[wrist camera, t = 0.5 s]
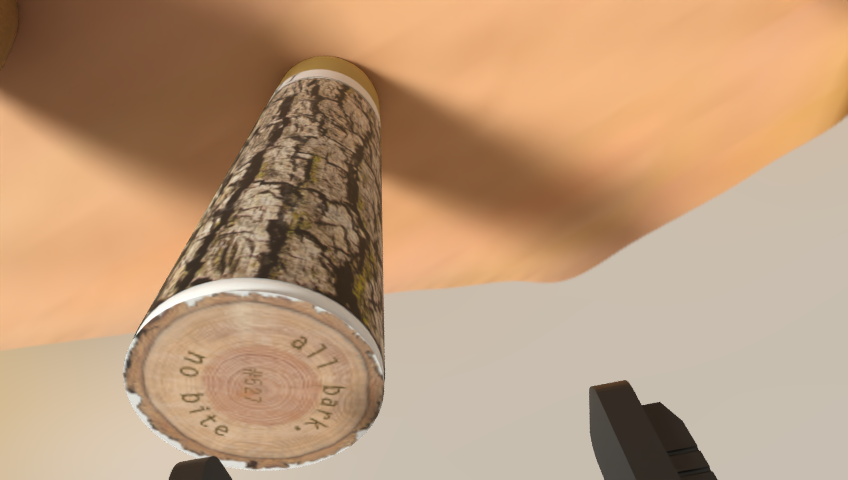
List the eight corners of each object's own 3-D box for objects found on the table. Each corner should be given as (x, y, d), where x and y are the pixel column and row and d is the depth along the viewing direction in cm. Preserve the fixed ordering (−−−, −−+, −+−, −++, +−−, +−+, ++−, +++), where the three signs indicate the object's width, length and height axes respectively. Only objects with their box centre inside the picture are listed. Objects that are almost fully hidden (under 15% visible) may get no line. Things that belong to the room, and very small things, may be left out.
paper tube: (387, 62, 34) (403, 304, 13) (373, 159, 38) (368, 476, 16) (279, 44, 33) (107, 275, 12) (274, 145, 37) (134, 465, 15)
